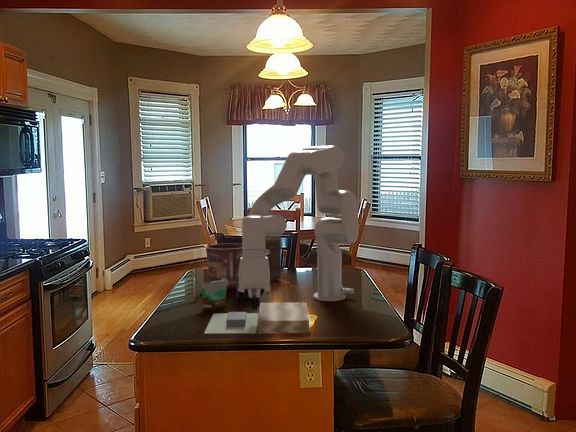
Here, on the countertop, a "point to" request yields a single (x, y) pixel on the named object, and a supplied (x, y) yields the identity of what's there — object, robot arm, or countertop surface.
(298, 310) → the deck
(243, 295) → the supplement bottle
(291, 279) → the countertop surface
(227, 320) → the grey flat block
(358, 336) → the countertop surface
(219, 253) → the pottery
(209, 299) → the food container
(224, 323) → the mat
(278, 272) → the candle
